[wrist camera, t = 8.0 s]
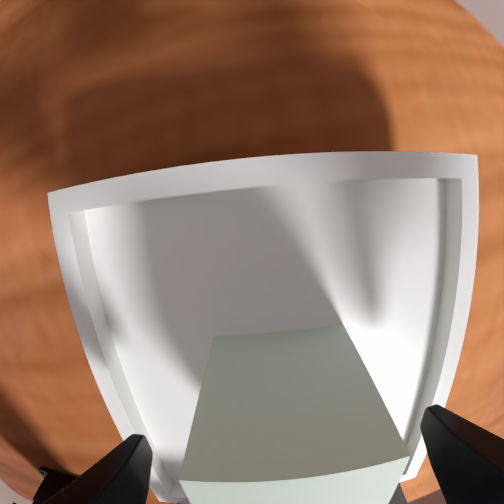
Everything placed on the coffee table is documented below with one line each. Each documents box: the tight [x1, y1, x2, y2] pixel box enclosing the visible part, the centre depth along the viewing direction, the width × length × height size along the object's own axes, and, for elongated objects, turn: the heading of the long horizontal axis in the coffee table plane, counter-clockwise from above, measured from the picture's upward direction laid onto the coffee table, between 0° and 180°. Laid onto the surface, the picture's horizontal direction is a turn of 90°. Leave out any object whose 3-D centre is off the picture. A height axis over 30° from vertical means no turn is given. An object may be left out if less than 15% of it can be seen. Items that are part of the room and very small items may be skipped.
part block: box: [179, 325, 410, 504], centre depth 8 cm, size 4×4×6 cm
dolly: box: [47, 151, 479, 504], centre depth 11 cm, size 17×14×8 cm
